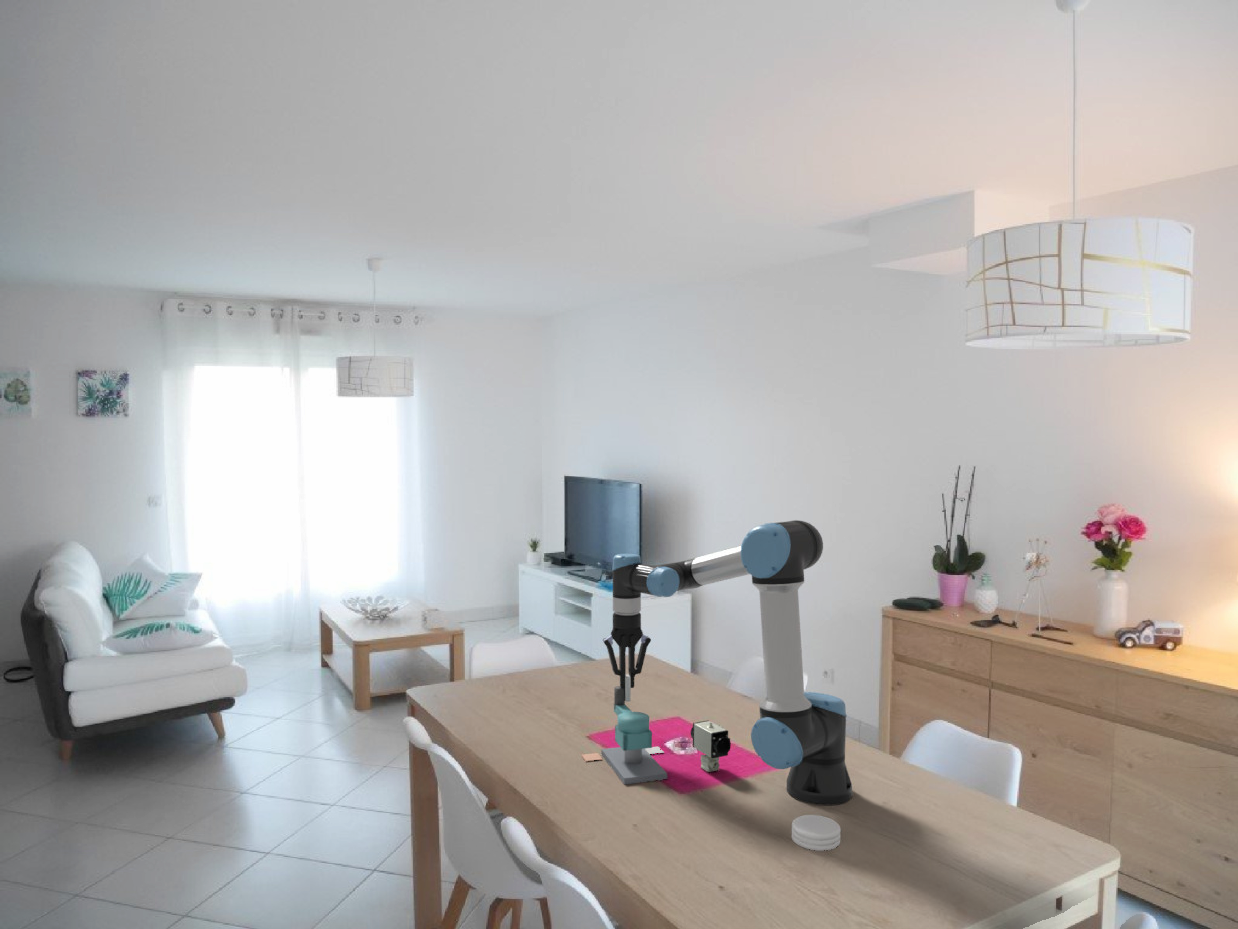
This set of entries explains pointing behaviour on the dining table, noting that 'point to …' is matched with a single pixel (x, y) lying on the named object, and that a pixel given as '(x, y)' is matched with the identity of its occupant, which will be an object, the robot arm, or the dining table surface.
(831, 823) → the coaster
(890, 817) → the dining table surface
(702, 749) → the pneumatic valve
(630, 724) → the crank handle
